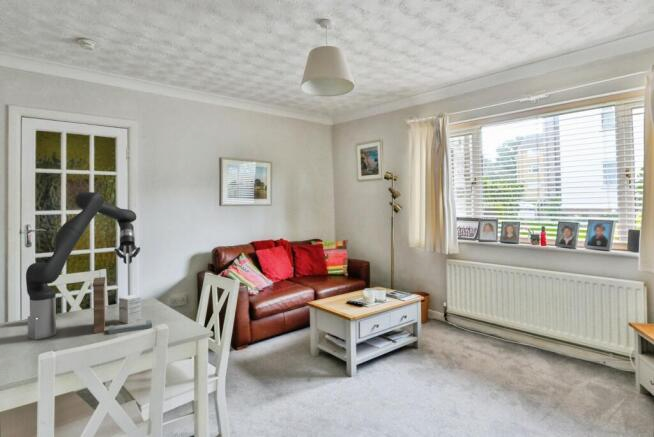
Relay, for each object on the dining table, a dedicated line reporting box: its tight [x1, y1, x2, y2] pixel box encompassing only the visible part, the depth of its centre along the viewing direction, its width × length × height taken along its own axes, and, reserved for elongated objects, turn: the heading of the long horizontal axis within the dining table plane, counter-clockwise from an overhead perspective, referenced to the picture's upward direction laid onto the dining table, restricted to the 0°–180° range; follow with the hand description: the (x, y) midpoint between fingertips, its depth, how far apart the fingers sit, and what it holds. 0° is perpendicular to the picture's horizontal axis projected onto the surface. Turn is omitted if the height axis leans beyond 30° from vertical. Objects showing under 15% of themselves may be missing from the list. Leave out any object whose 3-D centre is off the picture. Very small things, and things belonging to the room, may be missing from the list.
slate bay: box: [108, 319, 153, 335], centre depth 172 cm, size 7×18×2 cm, turn 121°
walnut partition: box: [91, 276, 106, 335], centre depth 172 cm, size 17×5×23 cm, turn 30°
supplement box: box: [118, 294, 142, 325], centre depth 183 cm, size 7×7×13 cm
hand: (127, 262), depth 196 cm, fingers closed
